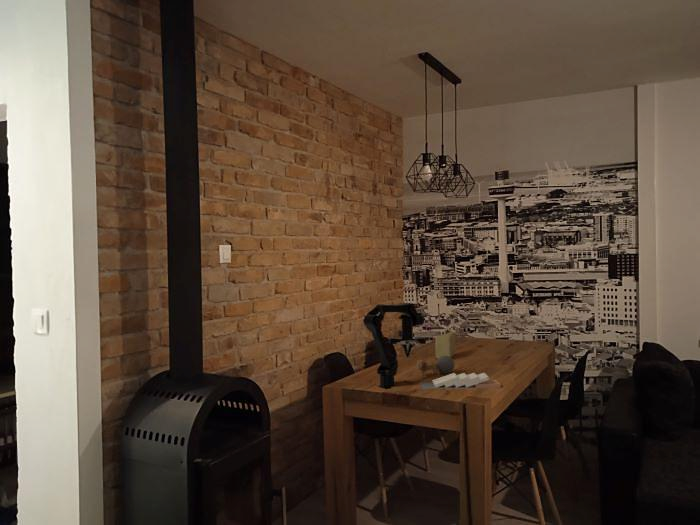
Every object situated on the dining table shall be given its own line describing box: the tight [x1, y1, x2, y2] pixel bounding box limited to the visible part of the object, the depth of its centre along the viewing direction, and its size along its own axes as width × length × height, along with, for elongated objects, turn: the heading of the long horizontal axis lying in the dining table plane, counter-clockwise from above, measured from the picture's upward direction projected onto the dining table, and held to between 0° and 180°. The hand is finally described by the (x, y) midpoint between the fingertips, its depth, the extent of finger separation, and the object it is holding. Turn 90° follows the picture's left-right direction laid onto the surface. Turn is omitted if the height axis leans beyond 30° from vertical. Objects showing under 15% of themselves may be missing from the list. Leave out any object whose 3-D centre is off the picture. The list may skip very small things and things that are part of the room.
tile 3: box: [455, 372, 479, 388], centre depth 285 cm, size 2×10×12 cm
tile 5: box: [474, 379, 501, 389], centre depth 285 cm, size 2×10×12 cm
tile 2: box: [444, 372, 469, 387], centre depth 285 cm, size 2×10×12 cm
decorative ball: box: [435, 355, 455, 375], centre depth 316 cm, size 10×10×10 cm
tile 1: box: [431, 372, 459, 388], centre depth 286 cm, size 2×10×12 cm
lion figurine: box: [416, 359, 441, 377], centre depth 312 cm, size 15×5×9 cm, turn 112°
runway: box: [419, 382, 485, 390], centre depth 285 cm, size 32×13×1 cm, turn 89°
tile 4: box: [465, 372, 490, 388], centre depth 285 cm, size 2×10×12 cm
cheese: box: [434, 331, 456, 359], centre depth 366 cm, size 22×10×15 cm, turn 151°
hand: (407, 357), depth 296 cm, fingers closed
